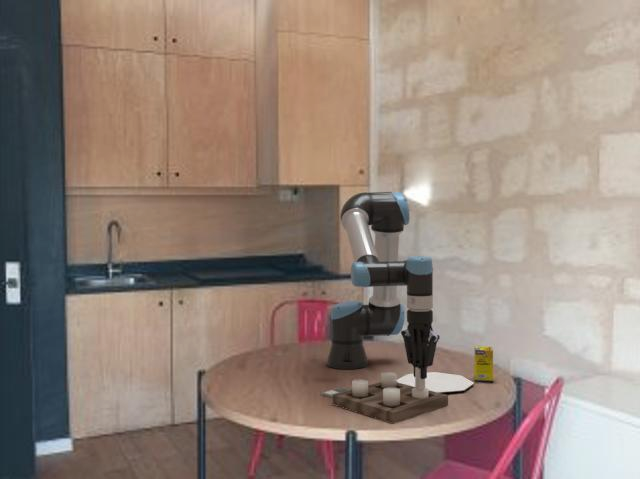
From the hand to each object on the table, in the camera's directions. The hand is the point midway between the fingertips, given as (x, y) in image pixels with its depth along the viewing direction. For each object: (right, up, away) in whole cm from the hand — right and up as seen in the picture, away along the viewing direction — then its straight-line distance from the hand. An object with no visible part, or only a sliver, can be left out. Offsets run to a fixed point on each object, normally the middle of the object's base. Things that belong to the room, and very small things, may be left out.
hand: (420, 388), depth 198 cm
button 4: (0, -4, 0) cm, 4 cm away
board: (-9, -5, +1) cm, 10 cm away
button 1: (-18, -2, +1) cm, 18 cm away
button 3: (-9, -2, -8) cm, 13 cm away
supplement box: (+25, -3, +27) cm, 37 cm away
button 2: (-8, -2, +9) cm, 13 cm away
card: (-23, -5, +12) cm, 26 cm away
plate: (+8, -4, +23) cm, 24 cm away
